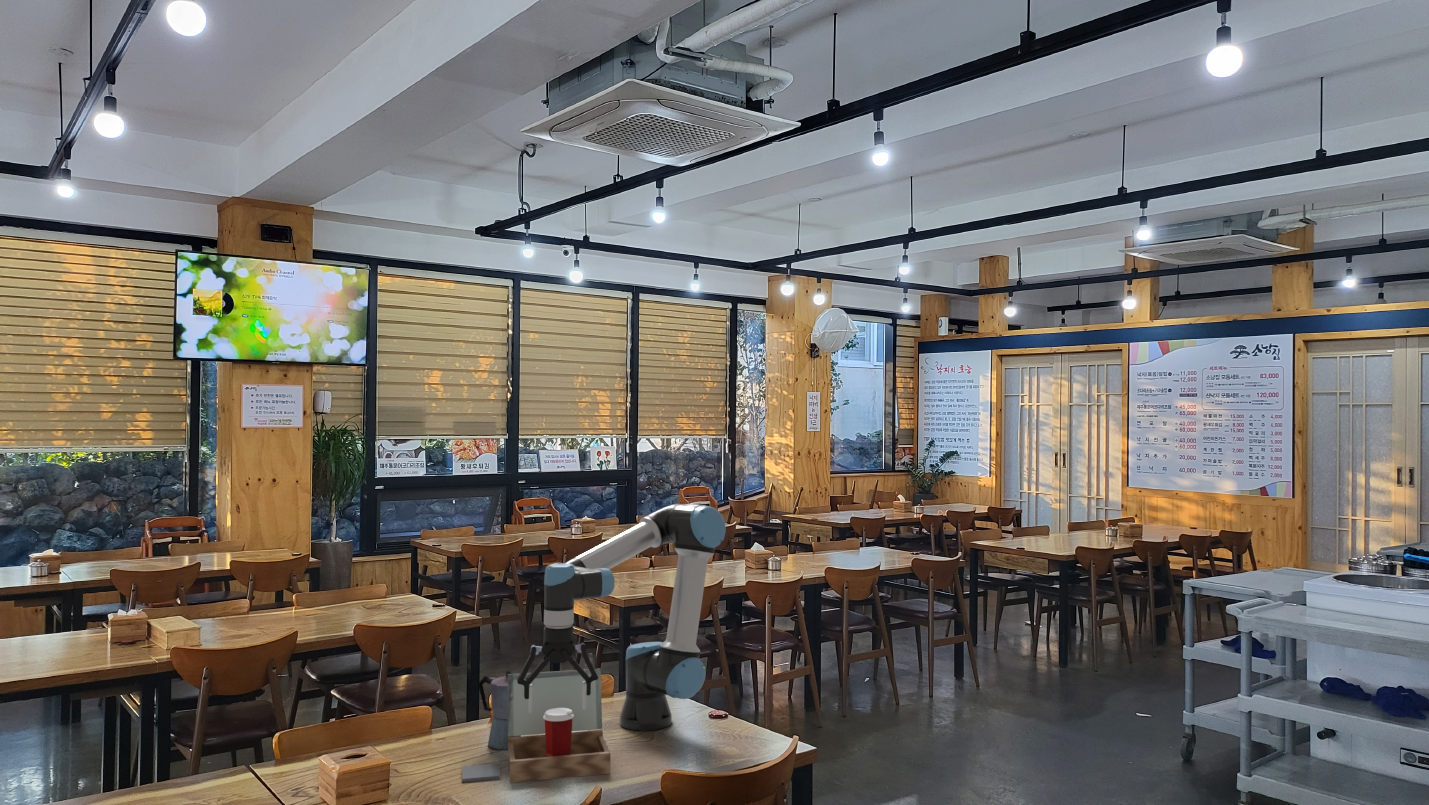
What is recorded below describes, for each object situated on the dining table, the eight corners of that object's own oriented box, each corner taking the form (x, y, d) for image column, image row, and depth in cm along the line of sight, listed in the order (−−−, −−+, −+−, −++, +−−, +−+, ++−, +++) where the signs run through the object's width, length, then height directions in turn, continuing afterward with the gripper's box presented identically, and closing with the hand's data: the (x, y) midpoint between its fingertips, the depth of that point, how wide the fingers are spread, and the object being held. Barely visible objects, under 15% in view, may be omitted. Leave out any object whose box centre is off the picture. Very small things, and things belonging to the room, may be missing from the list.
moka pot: (522, 752, 245) (523, 676, 246) (468, 748, 248) (469, 673, 249) (536, 741, 254) (537, 667, 255) (484, 737, 257) (485, 665, 258)
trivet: (499, 766, 235) (499, 763, 235) (499, 778, 226) (500, 775, 226) (462, 769, 232) (462, 766, 232) (461, 782, 224) (461, 779, 224)
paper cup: (579, 763, 236) (579, 708, 237) (564, 774, 229) (564, 717, 230) (551, 760, 239) (552, 705, 239) (536, 770, 232) (537, 714, 232)
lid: (602, 728, 245) (601, 728, 246) (600, 668, 248) (600, 668, 249) (508, 736, 239) (507, 736, 240) (508, 674, 242) (507, 674, 243)
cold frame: (602, 752, 244) (602, 730, 245) (610, 773, 230) (610, 749, 230) (507, 761, 238) (508, 737, 239) (510, 782, 223) (510, 757, 224)
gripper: (605, 621, 242) (604, 703, 241) (508, 624, 236) (506, 709, 235) (609, 626, 235) (608, 711, 234) (509, 630, 229) (507, 717, 228)
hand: (557, 710), depth 234 cm, fingers open, 13 cm apart
